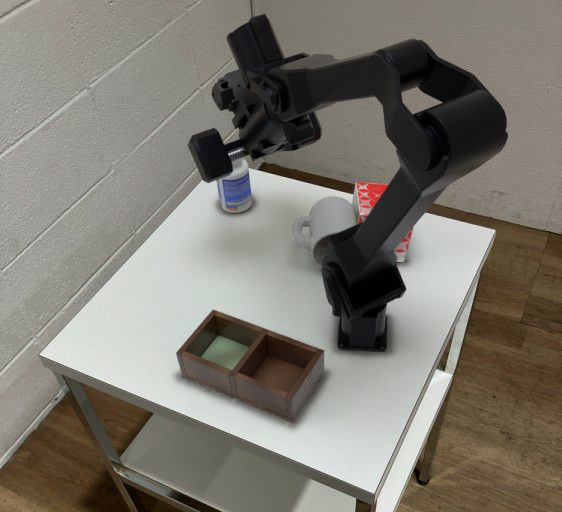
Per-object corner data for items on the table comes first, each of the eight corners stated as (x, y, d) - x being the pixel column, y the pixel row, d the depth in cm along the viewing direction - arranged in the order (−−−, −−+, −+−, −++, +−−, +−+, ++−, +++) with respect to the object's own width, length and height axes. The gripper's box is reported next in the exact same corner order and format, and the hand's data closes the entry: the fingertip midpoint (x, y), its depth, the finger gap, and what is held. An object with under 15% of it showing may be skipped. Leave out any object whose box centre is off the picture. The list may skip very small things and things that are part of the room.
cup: (350, 235, 100) (356, 273, 94) (287, 231, 99) (289, 269, 94) (359, 196, 95) (365, 233, 89) (292, 191, 94) (294, 229, 88)
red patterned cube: (355, 182, 93) (360, 214, 88) (408, 185, 94) (416, 218, 88) (347, 226, 99) (351, 259, 94) (397, 229, 100) (403, 262, 95)
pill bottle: (259, 202, 106) (254, 149, 98) (236, 218, 104) (229, 165, 96) (235, 190, 108) (229, 138, 101) (213, 205, 106) (205, 153, 98)
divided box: (324, 373, 82) (324, 350, 78) (292, 422, 77) (291, 399, 74) (217, 332, 87) (212, 309, 84) (181, 376, 83) (175, 352, 79)
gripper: (310, 37, 83) (271, 87, 98) (181, 79, 77) (161, 125, 92) (343, 120, 84) (300, 157, 99) (219, 166, 79) (193, 198, 94)
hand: (240, 157), depth 96 cm, fingers open, 9 cm apart
